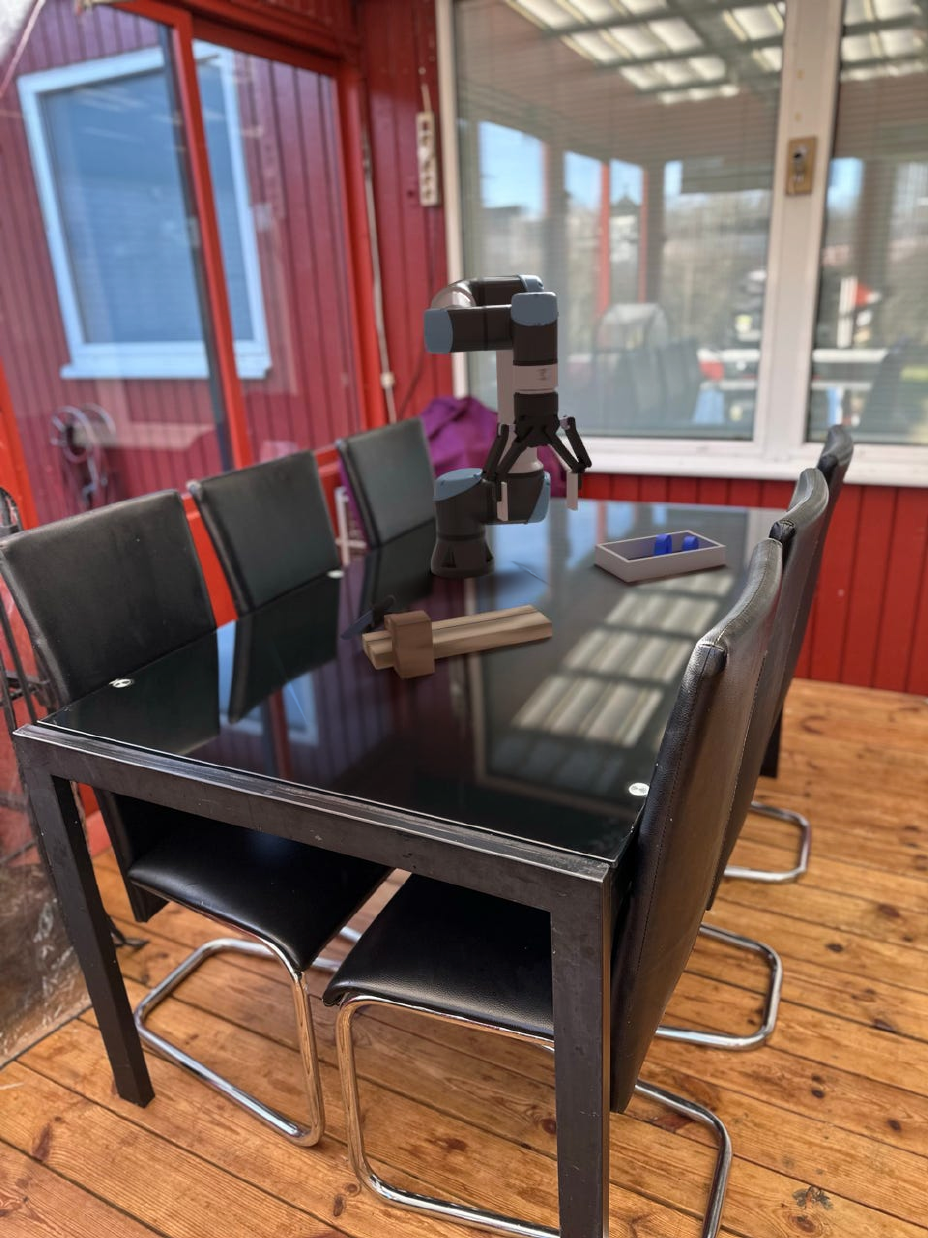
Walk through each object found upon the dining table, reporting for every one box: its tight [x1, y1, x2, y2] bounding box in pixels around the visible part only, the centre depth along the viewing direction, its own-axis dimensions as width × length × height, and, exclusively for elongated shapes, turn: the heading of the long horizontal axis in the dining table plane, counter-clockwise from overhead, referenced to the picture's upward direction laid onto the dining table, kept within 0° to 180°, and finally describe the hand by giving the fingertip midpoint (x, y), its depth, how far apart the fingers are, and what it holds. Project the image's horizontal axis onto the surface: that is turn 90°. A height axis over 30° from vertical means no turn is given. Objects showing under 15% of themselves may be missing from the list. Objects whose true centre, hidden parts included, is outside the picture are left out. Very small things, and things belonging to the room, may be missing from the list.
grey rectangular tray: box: [594, 529, 727, 583], centre depth 202 cm, size 15×25×4 cm, turn 110°
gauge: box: [383, 609, 436, 680], centre depth 159 cm, size 18×6×10 cm, turn 20°
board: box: [361, 604, 553, 670], centre depth 165 cm, size 10×34×3 cm, turn 110°
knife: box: [339, 594, 396, 641], centre depth 172 cm, size 24×2×5 cm, turn 162°
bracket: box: [653, 533, 699, 557], centre depth 207 cm, size 18×8×9 cm, turn 151°
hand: (538, 514), depth 156 cm, fingers open, 13 cm apart
